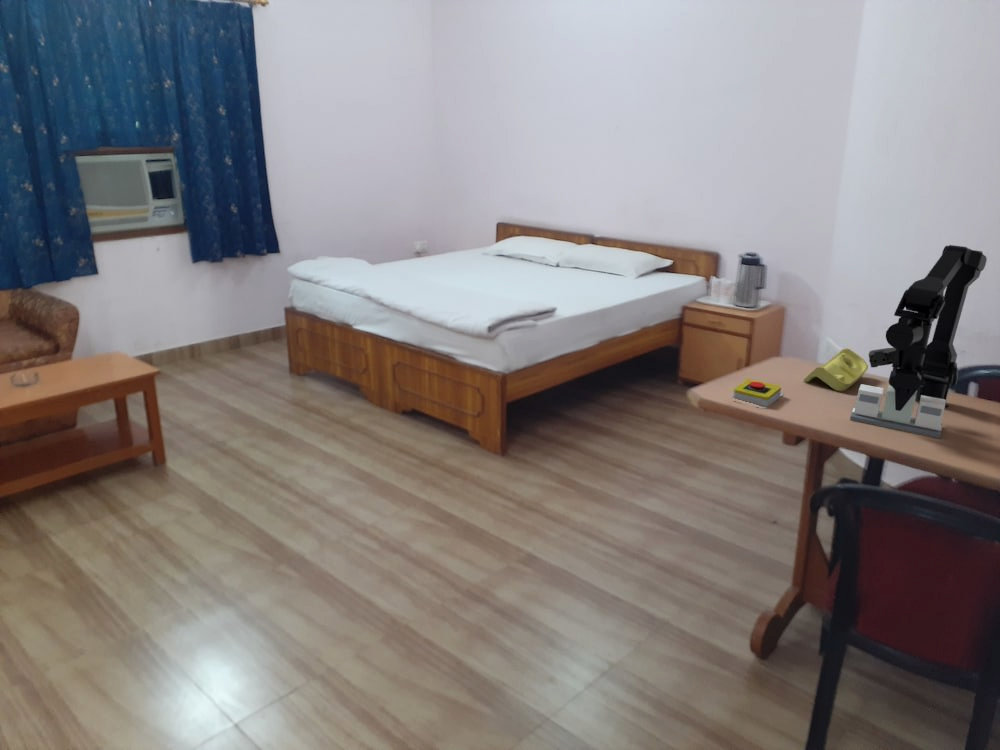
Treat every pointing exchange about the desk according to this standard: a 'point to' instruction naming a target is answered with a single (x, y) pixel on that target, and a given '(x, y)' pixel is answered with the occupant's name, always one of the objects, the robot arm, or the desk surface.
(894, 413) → the block
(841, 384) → the plastic component
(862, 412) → the rail board
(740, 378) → the desk surface
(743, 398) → the emergency button
